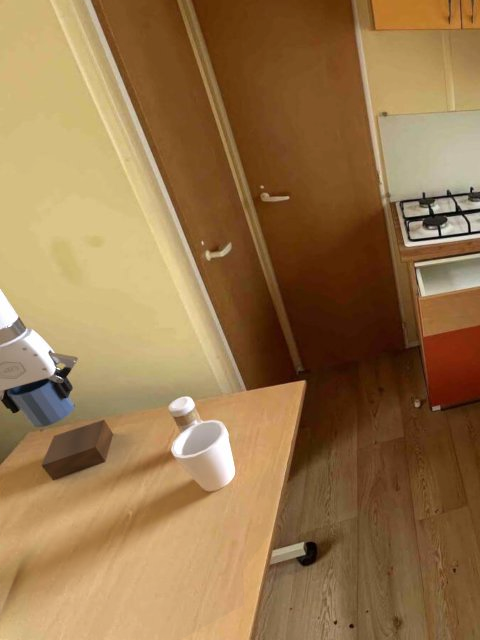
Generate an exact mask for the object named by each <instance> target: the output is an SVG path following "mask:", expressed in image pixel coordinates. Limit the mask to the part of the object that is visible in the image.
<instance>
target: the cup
mask: <svg viewBox="0 0 480 640" xmlns="http://www.w3.org/2000/svg"><path fill="white" fill-rule="evenodd" d="M55 383H56V382H54V381H52V380H50V379H48V378H46V379H43V380H39V381H36V382H32V383H28V384H25V385H21V386H17V387H14V388H10V389H8V391H7V394H8V396H9V397H10V399H11V400H12V401H13V403H14V404H15V405H16V406H17V408H18V409H19V412H20V413H21V415H22V416H23V417H24V419H25V420H26V421H27V422H28V424H29V425H30V426H31V427H33V428H44V427H48V426H51V425H54V424H56V423H58V422H60V421H62V420H64V419H65V418H67V417H68V416H69V415H71V414H72V412H73V411H74V409H75V406H76V405H75V403H74V402H73V400H72V398H71V396H70V395H69V396H68V398H65V399H64V398H62V397H61V395H60V394H59V392H58V391H57V390H56V388H55V387H54V385H55Z"/></svg>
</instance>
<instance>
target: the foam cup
mask: <svg viewBox="0 0 480 640" xmlns="http://www.w3.org/2000/svg"><path fill="white" fill-rule="evenodd" d="M202 421H203V422H200V423H198V424H195V425H193V426H191V427H189V428H188V429H186V430H185V431H184V432H182V433H181V432H180V433H179V434H178V436H177V437H176V438H175V439H174V440H173V442H172V445H171V448H170V452H171V453H172V455H173V457H174V458H175V461H176V462H177V464H178V465H180V466H181V467H183V469H184V470H185V471H186V472H187V473H188V474H189V476H191V477H192V479H193V480H194V481H195V482H196V484H198V485H199V486H200V488H201V489H202V490H203V491H205V492H209V493H210V492H216V491H218V490H219V491H220V489H223V488H224V487H226V486H227V485H228V484H230V483H231V482H232V480H233V478H234V477H235V474H236V467H235V462H234V458H233V457H234V456H233V453H232V448H231V444H230V439H229V432H228V429H227V427H226V426H225V424H224V423H223V421H221V420H216V419H210V420H202Z"/></svg>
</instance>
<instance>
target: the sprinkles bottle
mask: <svg viewBox="0 0 480 640" xmlns="http://www.w3.org/2000/svg"><path fill="white" fill-rule="evenodd" d="M167 410H168V412H169V415H170V416H171V417H172V418H173V420H174V422H175V425H176V426H177V428H178V431H179V433H180V434H181V433H182V432H184V431H185V430H186V429H188V428H189V427H191V426H193V425H195V424H198V423H200V422H203V421H204V420H203V419H202V418H201V416H200V415H199V412H198V410H197V409H196V405H195V402H194V400H193V398H192V397H191V396H181V397H178V398H176V399H174V400H173V401H172V402H171V403H169V405H168V406H167Z"/></svg>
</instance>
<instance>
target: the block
mask: <svg viewBox="0 0 480 640" xmlns="http://www.w3.org/2000/svg"><path fill="white" fill-rule="evenodd" d="M113 435H114V433H113V431H112V429H111V428H110V427H109V425H108V423H107V422H106V420H105V419H102V420H99V421H96V422H92V423H89V424H85V425H83V426H80V427H76V428H73V429H71V430H68V431H65V432H61V433H58V434H55V435H53V437H52V439H51V442H50V444H49V446H48V449H47V451H46V452H45V453H46V454H45V456H44V459H43V461H42V463H41V465H40V466H41V468H43V470H44V471H45V472H46V474H47V476H49V477H50V479H51V480H52V481H55V480H58V479H60V478H64V477H66V476H68V475H69V476H70V475H71V474H72V475H73V474H74V473H77V472H79V471H83V470H87V469H88V468H92V467H94V466H97V465H100V464H102V463H106V461H107V457H108V454H109V451H110V447H111V443H112V439H113Z"/></svg>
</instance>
